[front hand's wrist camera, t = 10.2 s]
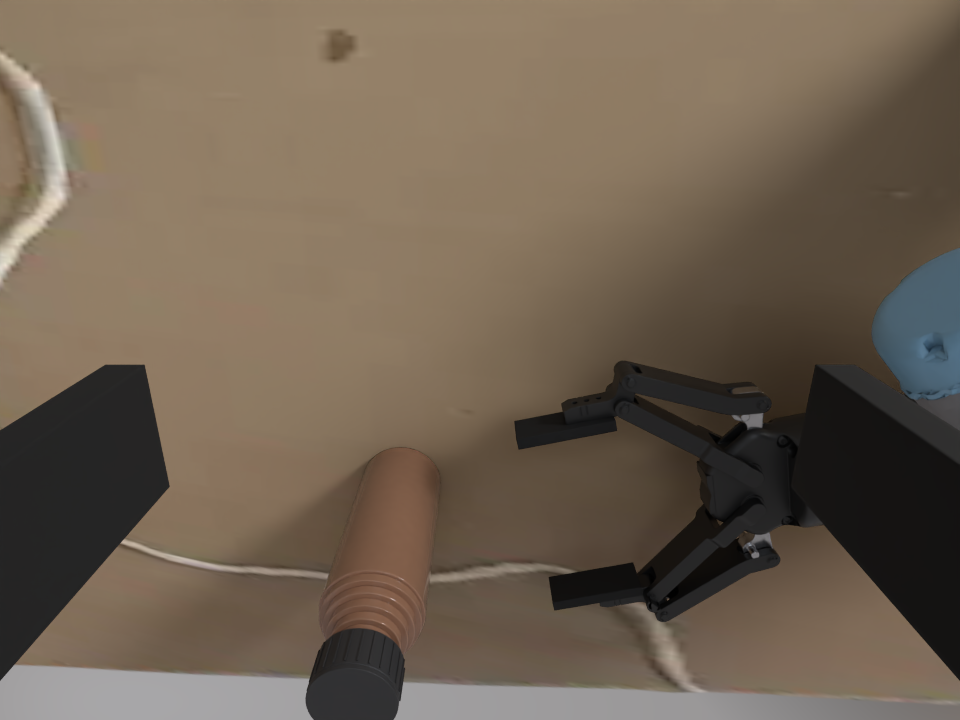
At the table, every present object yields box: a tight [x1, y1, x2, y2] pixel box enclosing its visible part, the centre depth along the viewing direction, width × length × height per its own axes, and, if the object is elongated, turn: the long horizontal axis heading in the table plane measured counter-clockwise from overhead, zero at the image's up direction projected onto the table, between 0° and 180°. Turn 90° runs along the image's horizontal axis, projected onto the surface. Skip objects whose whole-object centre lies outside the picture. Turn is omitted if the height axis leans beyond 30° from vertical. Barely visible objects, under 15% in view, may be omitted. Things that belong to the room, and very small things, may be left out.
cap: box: [306, 628, 405, 720], centre depth 32 cm, size 5×5×3 cm
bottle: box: [319, 448, 441, 654], centre depth 41 cm, size 6×6×20 cm
